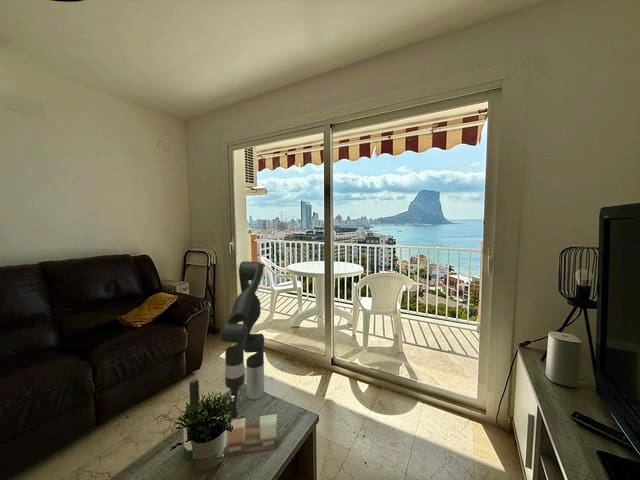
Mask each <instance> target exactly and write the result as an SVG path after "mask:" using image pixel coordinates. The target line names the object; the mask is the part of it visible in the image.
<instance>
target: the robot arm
mask: <svg viewBox="0 0 640 480" xmlns="http://www.w3.org/2000/svg"><path fill="white" fill-rule="evenodd" d="M238 267H239V268H238V278H239V284H240V292H241V293H240V294H239V295H238V296H237V297H236V298H235V301H234V304H233V306H232V310H231V313H230V314H229V315H228V317H227V319H226V320H225V322H224V323H223V325H222V326H221V329H220V332H219V338H220V340H221V342H224V343H234V344H233V345H230V346H228V347H227V348H226V349H225V354H224V356H225V357H224V358H225V366H224V380H225V381H224V382H225V383H224V384H225V386H226V388H228V389H229V393H228V394H229V398H228V399H229V400H228V401H229V402H228V403H229V410H228V411H229V412H230V418H231V419H238V403H240V401H241V399H240V397H241V396H240V393H241V390H242V389H241V388H242V385H244V383H245V382H246V398H247V399H249V400H258V399H260V398H262V397H264V395H265V361H264V360H265V354H264V353H265V352H264V351H265V336H264V333H252V334H251V330H252V328H253V327H254V325H255V324H256V323H257V321H258V320H259V318H260V316H261V312H262V311H261V310H262V309H261V301H260V299H259V297H258V296H257V294H256V293H257V290H258V288H259V285H260V283H261V281H262V278H263V274H264V265H263V263H262V262H259V261H247V260H245V261H241V262H240V264H239V266H238ZM250 281H251V282H250ZM241 322H242V323H241ZM235 343H236V344H235ZM244 353H248V354H249V353H253V354H251V355H249V356H248V357H247V358H246V360H245V359H244V358H245V357H244V355H245V354H244ZM244 360H245V361H244ZM245 362H246V367H245ZM245 369H246V372H245ZM245 374H246V376H245ZM245 379H246V381H245Z"/></svg>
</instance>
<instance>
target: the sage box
mask: <svg viewBox="0 0 640 480" xmlns="http://www.w3.org/2000/svg"><path fill="white" fill-rule="evenodd" d="M277 419H278V418H277V413H274V414H268V415H261V416H259V424H260V441H264V440H270V439H276V438H277V426H278V421H277Z"/></svg>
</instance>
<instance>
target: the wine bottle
mask: <svg viewBox="0 0 640 480" xmlns="http://www.w3.org/2000/svg"><path fill="white" fill-rule="evenodd" d="M199 381H200V380H199V379H198V378H197V377H196V378H192V379H191V380H190V381H189V386H188V387H189V388H188V389H189V404H188V406H187V408H186V409H185V411H184V414H186V413H188V412H190V411H191V410H193V409H197V408H198V407H199V406H200V403H197V401H198V400H199V401H200V384H199ZM184 414H183V415H184ZM185 441H187V429H186V428H183V457H184V458H185V459H186V460H187V461H189V462H190V461H194V460H193V451H192V445H191V442H190V441H188V442H185Z"/></svg>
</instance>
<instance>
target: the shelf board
mask: <svg viewBox="0 0 640 480" xmlns="http://www.w3.org/2000/svg"><path fill="white" fill-rule="evenodd" d="M278 426H279V425H277V438H276V439H270V440H264V441H260V423H256V424H251V425H246V438H245V444H239V445H233V446H227V441H226V447H224V451H223V454H224V457H223V458H227V457H234V456H240V455H241V456H242V455H246V454H250V453H257V452H263V451H267V450H269V451H270V450H276V449H279V431H278Z"/></svg>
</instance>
